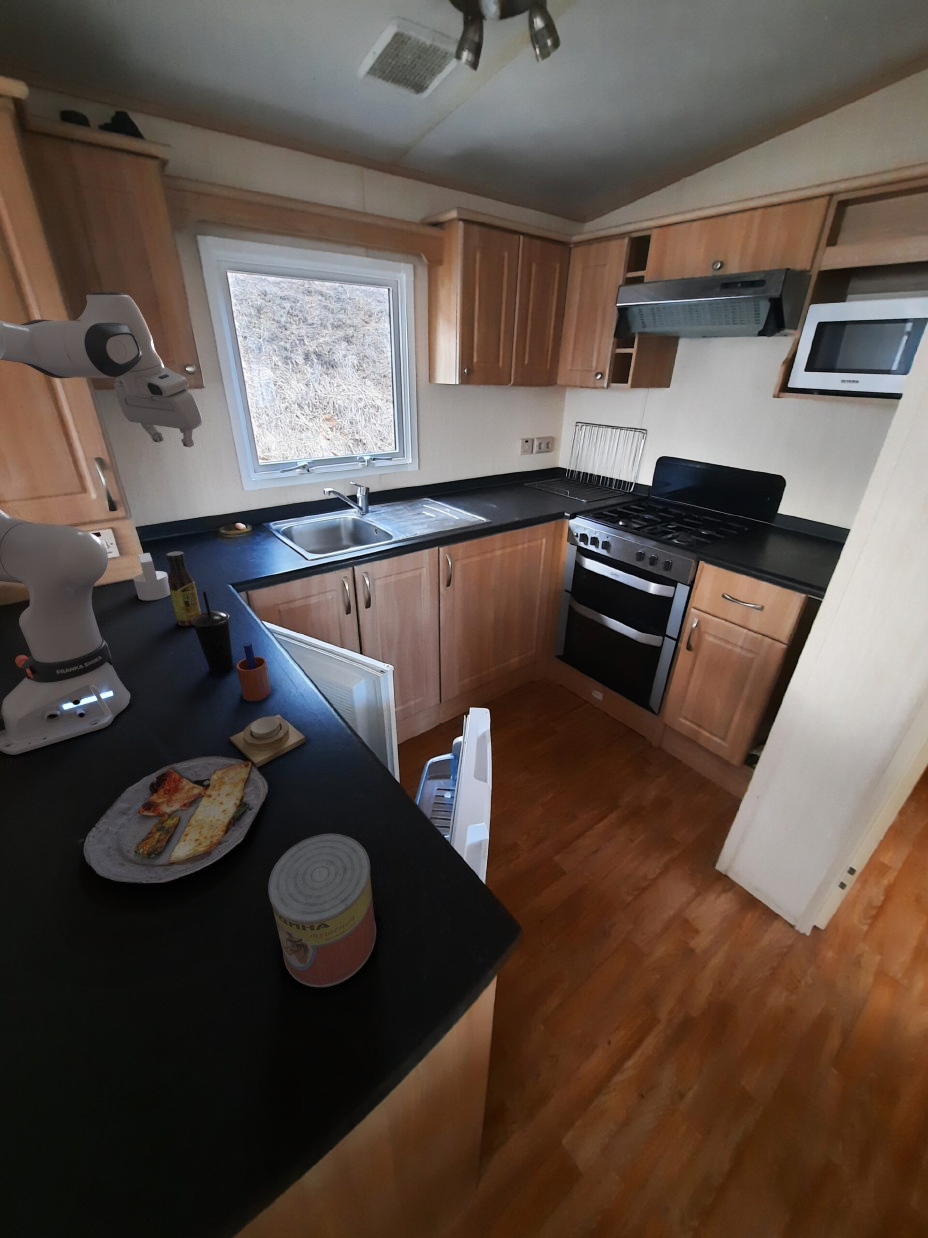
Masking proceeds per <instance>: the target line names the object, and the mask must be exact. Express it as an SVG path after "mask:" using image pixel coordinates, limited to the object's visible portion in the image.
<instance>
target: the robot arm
mask: <svg viewBox="0 0 928 1238" xmlns="http://www.w3.org/2000/svg"><path fill="white" fill-rule="evenodd" d="M85 299H86V306H85V308H84V310H83V312H82V314H81V315H80V316H79V317H78V318H76V320H54V319H53V320H52V319H39V318H37V319H33V320H30V321H26V322H23V323H21V324H18V323H13V322H9V321H4V320H1V319H0V361H7V362H12V363H13V362H14V363H20V364H22V365H23V364H24V365H26V366H28V367H30V368H32V369H34V370H36V371H38V372H40V373H41V374H43V375H45V376H47V377H50V378H53V379H72V378H79V379H80V378H82V379H83V378H85V379H87V378H88V379H90V378H91V379H114V378H115V379H114V382H113V386H114V389H115V396H116V399H117V401H118V405H119V407H120V409H121V412H122V414H123V416H124V418H125V419H126V420H127V421H128V422H130V423H135V424H140V425H141V428H142V429H144V430H145V432H146V433H147V434H148V435H149V436H150V438H151V440H152V442H154V443H160V444H161V442H164V439H165V438H164V437H163V434H162V432H159V430H157V429H156V427H155V426H157V427H158V426H159V427H165V428H170V429H179V432H180V433H181V434H182V436H183V437H182V438H181V439H180V441H181V443H182V446H183V447H185V448H192V447H193V446H194V445H195V442H194V439H193V431H194V430H195V429H197V428H199V427H201V426H202V424H203V417H202V414H201V411H200V409H199V406H198V403H197V401H196V399H195V397H194V395H193V393H191V392H190V390H188V388H189V387H190V384H189V381H188V380H187V379H188V378H186V377H185V376H184V375H181V374H180V373H178V372H175V371H173V370H171V369H170V368H168V367H166V366H165V365H164V363H163V360H162V359H161V357H160V355H159V354H158V353H157V351H156V348H155V345H154V340H153V336H152V334H151V331H150V329H149V327H148V324H147V322H146V320H145V318H144V315H143V314H142V312H141V310H140V308H139V307H138V305H137V303H136V302H135V301H134V299H133V298H132V297H131V296H130V295H128V293H127V294H126V293H125V292H121V291H92V292H89V293H87V294H86V296H85ZM108 565H109V555H108V551H107V547H106V546H105V544H104V543H103V541H102V540H101V539H100V538H99V537H98V536H97V535H95V534H94V533H91V532H89V531H86V530H84V529H80V528H77V527H73V526H70V525H66V524H55V523H54V524H53V523H45V522H33V521H27V520H25V519H20V518H18V517H14V516H12V515H10V514H8V513H6V512H5V511H3V510H2V509H1V508H0V582H4V583H14V584H23V585H24V586H25V587H26V589H27V591H28V595H29V606H28V607H26V609H24V610H23V611H22V612H21V613H20V615H19V618H18V624H19V627H20V630H21V632H22V634H23V637H24V640H25V641H26V645H27V647H28V649H29V651H30V654H31V655H30V656H29V657H28V655H25V654H21V655H20V654H19V655H18V656H16V657H15V659H14V662H15V664H16V666H17V667H18V668H21V669H22V671H23V674H24V676H25V677H24V678H23V679H22V680H21V681H20V682H19V683H18V684H17V685H16V686H15V687H14V688H13V689H12V690H10V692H9V693H8V694H6V696H5V697H4V698H3V700H2V703H1V707H0V752H2V753H3V754H6V755H11V756H13V755H14V756H15V755H20V754H23V753H27V752H30V751H33V750H36V749H39V748H43V747H46V746H49V745H52V744H55V743H60V742H63V741H65V740H68V739H72V738H76V737H79V736H82V735H85V734H88V733H92V732H95V731H98V730H102V729H105V728H106V727H108V726H110V725H111V724H112V722H113V721H114V720H115V717H116V716H117V715H119V714H120V713H121V712H122V711H124V710H125V709H126V708H127V707H128V706H129V704H130V700H131V693H130V691H129V690H128V689H127V688H126V686H125V684H124V683H122V681H121V679H120V677H119V676H118V674H117V672H116V670H115V669H114V666H113V664H114V663H113V657H112V655H111V654H112V653H111V651H110V648H109V645H108V643H107V642H106V640H105V639H104V638H103V637H102V635H101V632H100V630H99V626H98V622H97V620H96V616H95V613H94V610H93V599H92V598H93V597H92V596H93V589H94V587H95V585H96V583H97V582H98V581H99V580H100V579H101V578H102V577H103V575H104V574H105V572H106V570H107V568H108Z"/></svg>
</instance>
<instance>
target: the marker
mask: <svg viewBox="0 0 928 1238" xmlns="http://www.w3.org/2000/svg"><path fill="white" fill-rule="evenodd" d="M243 650H244V655H245V658H246V660H247V665H248V670H252V669H256V663H255V658H254V657H255V653H254V648H253V644H252V642H245V643H244V644H243Z"/></svg>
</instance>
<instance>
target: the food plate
mask: <svg viewBox="0 0 928 1238" xmlns="http://www.w3.org/2000/svg"><path fill="white" fill-rule="evenodd" d="M208 779H209V780H208ZM203 780H205V781H204V782H203V784H202V785H199V784H197V783H196V782H195V781H203ZM203 785H204V786H203ZM207 785H209V786H207ZM268 791H269V783H268V781H267V779H266V778H265V777H264V775H263V774H262V773H261V772H260V770H259V769H258V767H255V766H254V765H253V763H252V762H251V761H250V760H243V759H240V758H235V757H231V756H230V757H228V756H222V755H208V756H199V757H195V758H194V757H193V758H191V759H190V758H189V759H186V760H183V761H179V762H175V763H171V764H169V765H168V764H167V765H165V766H163V767H161V768H160V769H157V770H156V771H154V772H153V773H151V774H149V775H146V776H144V777H143V778H141V779H140V780H139V781H138V782H136V783H134V784H133V785H131V786H129V787H128V788H126V789H125V790H124V791H123V792H122V793H121V795H119V796H118V798H117V799H116V800H115V801H114V802H113V803H112V805H111V806H110V807H109V808H108V809H107V810H106V812H105V813H104V814H103V815H102V817H100V818H99V819H98V821H97V823H96V824H95V826H93V827H92V828H91V830H90V831H89V832H88V833H87V836H86V838H85V840H84V843H83V856H84V858H85V862H87V864H88V866H91V868H92V869H93V870H94V871H95V874H98V875H99V876H100V877H104V878H106V879H109V880H111V881H114V882H120V883H122V882H123V883H130V884H132V883H135V884H137V883H138V884H154V883H155V884H159V883H160V884H161V883H168V882H170V881H173V880H176V879H179V878H180V877H186V876H187V875H189V874H193V873H195V872H198V871H200V870H202V869H203V868H206V867H208V866H210V865H211V864H213V863H214V862H216V861H218V860H220V859H221V858H222V857H224V856H225V855H226V854H228V853H229V852H231V850H234V848H235V847H236V846H237V845H238V844H240V843H242V841H243V840H244V838H245V836H246V835H247V833H248V831H249V829H250V828H251V825H253V822H254V821H255V819H256V817H257V814H258V813H259V811H260V809H261V807H262V805H263V803H264V801H265V799H266V797H267V795H268Z"/></svg>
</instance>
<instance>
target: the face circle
mask: <svg viewBox="0 0 928 1238" xmlns="http://www.w3.org/2000/svg"><path fill="white" fill-rule="evenodd" d="M254 721H255V722H254ZM254 721H252V722H253V724H252V725H251V732H252V736H253V737H254V738H255V739H260V740H262V739H268V738H271V737H273V736H275V735H277V734H278V733H279V731H280V723H279V720H278V719H277V718H275V717H271V716H264V717H260V718H257V719H256V720H254Z"/></svg>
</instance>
